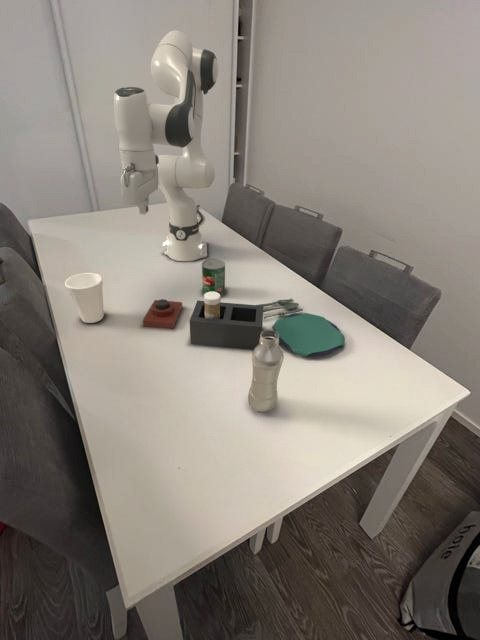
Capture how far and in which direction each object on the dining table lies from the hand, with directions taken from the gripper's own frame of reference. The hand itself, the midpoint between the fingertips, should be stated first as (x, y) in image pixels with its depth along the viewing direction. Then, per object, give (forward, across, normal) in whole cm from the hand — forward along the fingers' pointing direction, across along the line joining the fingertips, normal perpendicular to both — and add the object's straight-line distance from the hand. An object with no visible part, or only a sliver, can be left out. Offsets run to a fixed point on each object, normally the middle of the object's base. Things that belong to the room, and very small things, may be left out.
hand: (144, 213), depth 98 cm
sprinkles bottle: (+29, -17, -22) cm, 41 cm away
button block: (+29, -10, -6) cm, 31 cm away
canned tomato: (+29, +8, -19) cm, 36 cm away
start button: (+26, -10, -6) cm, 28 cm away
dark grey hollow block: (+29, -17, -27) cm, 43 cm away
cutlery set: (+29, -10, -48) cm, 57 cm away
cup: (+29, -14, +15) cm, 36 cm away
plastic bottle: (+29, -42, -38) cm, 64 cm away
